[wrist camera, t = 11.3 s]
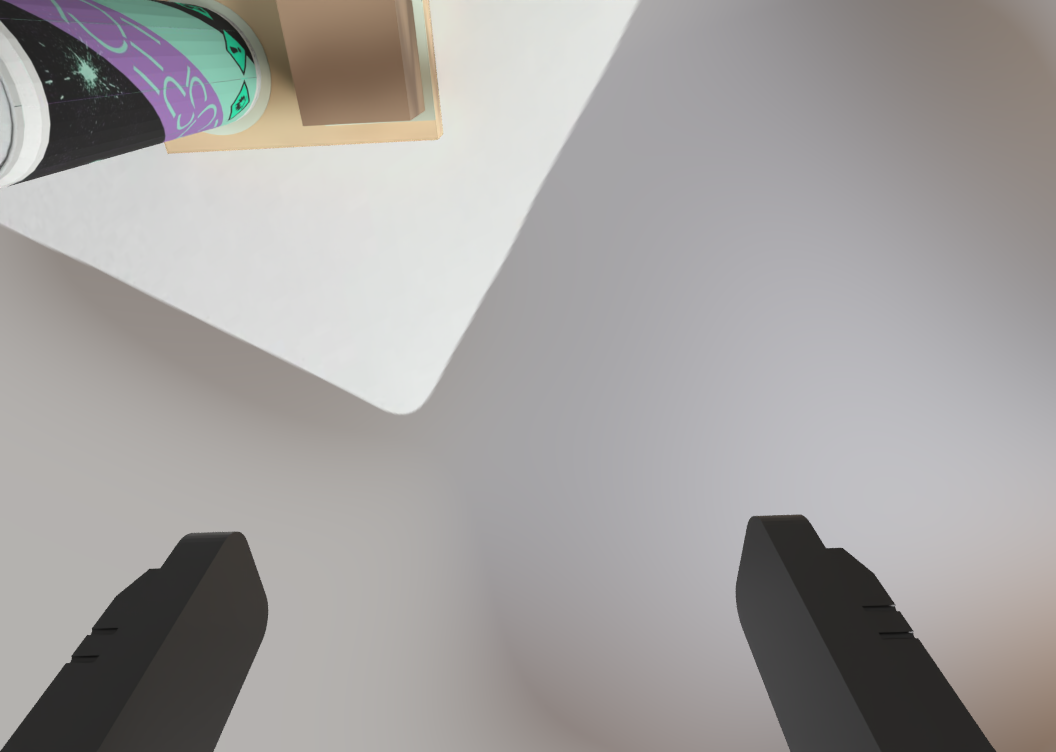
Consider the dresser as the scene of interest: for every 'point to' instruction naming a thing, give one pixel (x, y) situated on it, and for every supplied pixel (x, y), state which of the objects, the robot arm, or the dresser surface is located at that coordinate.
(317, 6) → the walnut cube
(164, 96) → the spray can
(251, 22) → the oak board
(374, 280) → the dresser surface
